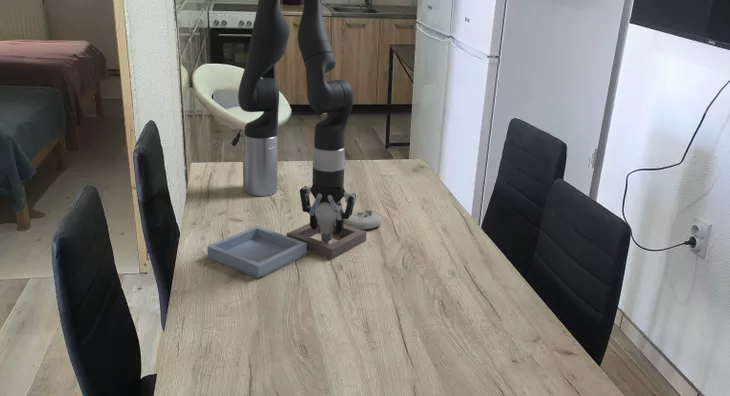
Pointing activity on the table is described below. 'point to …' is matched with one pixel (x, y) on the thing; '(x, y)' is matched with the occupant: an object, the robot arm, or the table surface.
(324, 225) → the lightbulb
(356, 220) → the fossil
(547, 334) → the table surface
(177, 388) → the table surface
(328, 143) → the robot arm
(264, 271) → the tray
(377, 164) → the table surface
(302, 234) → the brownish grey square frame
